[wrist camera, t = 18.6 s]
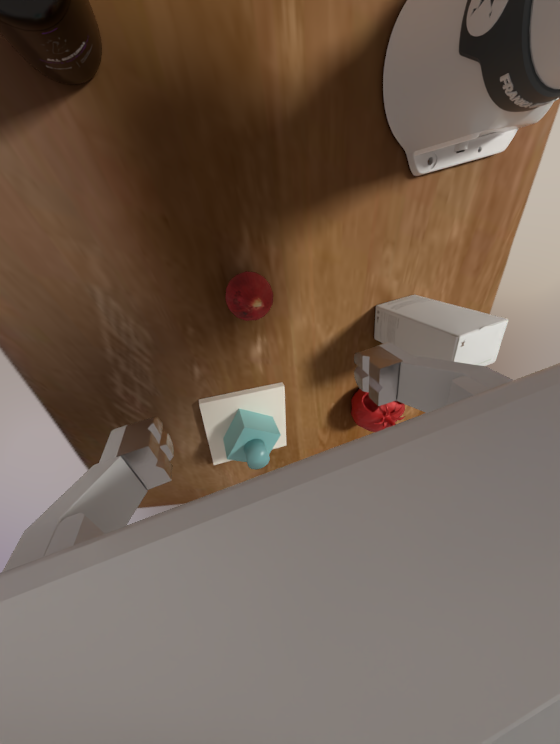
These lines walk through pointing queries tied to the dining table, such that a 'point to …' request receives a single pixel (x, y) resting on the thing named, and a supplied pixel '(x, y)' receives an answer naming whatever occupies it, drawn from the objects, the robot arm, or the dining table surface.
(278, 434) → the teal knobbed block
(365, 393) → the pomegranate
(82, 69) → the supplement bottle
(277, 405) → the post stand
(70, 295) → the dining table surface
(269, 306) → the onion
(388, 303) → the skincare box
